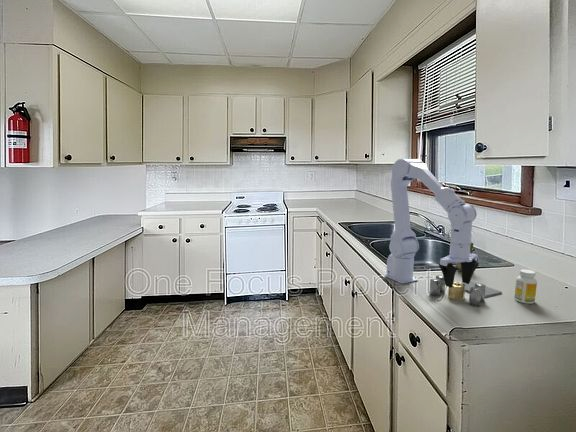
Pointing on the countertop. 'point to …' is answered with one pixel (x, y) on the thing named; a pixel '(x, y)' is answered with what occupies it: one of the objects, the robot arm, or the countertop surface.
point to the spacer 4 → (482, 287)
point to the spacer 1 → (434, 287)
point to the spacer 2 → (441, 282)
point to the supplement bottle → (526, 287)
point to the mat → (487, 291)
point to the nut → (457, 291)
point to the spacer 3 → (475, 296)
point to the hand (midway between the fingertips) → (457, 284)
